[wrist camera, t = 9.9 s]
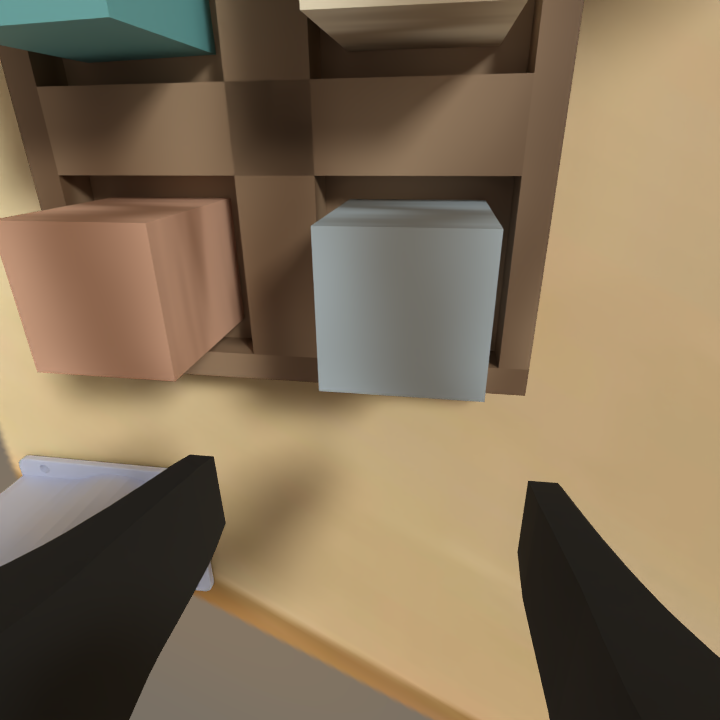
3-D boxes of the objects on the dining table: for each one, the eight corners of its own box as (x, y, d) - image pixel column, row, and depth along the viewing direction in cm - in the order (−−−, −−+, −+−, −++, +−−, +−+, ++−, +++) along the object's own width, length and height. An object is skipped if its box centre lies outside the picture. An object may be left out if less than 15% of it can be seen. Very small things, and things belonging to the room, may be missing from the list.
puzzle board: (121, 343, 22) (3, 419, 16) (0, -179, 15) (-292, -385, 9) (515, 365, 19) (546, 465, 13) (599, -249, 12) (740, -599, 6)
